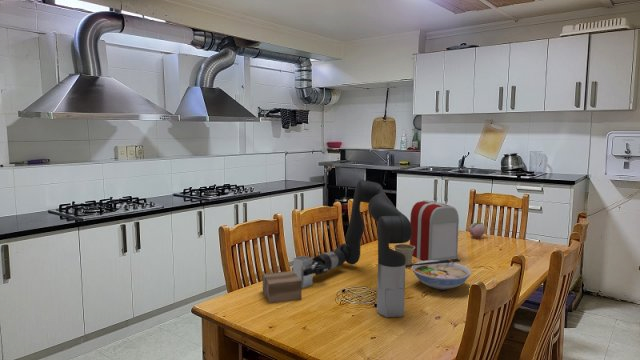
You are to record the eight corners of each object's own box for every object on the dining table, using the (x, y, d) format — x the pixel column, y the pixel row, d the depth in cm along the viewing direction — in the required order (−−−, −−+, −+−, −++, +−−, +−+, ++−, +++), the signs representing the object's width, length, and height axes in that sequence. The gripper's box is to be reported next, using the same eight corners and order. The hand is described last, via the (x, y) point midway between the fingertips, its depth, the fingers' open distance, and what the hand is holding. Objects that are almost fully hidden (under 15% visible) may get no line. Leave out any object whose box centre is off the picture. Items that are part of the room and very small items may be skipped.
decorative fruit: (474, 235, 260) (474, 219, 259) (487, 238, 253) (487, 221, 252) (465, 238, 254) (466, 221, 253) (478, 240, 247) (479, 223, 246)
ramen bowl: (426, 300, 161) (426, 278, 160) (398, 279, 183) (399, 260, 182) (485, 294, 168) (486, 273, 167) (452, 274, 189) (452, 256, 189)
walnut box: (301, 299, 161) (301, 280, 161) (269, 303, 158) (269, 284, 157) (293, 288, 173) (293, 270, 172) (262, 291, 169) (262, 273, 168)
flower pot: (414, 268, 197) (415, 250, 196) (393, 267, 199) (393, 248, 198) (414, 262, 207) (414, 244, 206) (394, 261, 208) (394, 243, 208)
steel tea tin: (312, 284, 177) (312, 257, 175) (303, 288, 173) (303, 261, 171) (302, 281, 180) (302, 255, 179) (293, 285, 176) (293, 258, 175)
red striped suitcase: (435, 251, 227) (437, 199, 223) (458, 260, 210) (460, 204, 207) (408, 254, 221) (409, 200, 217) (428, 264, 204) (430, 206, 201)
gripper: (312, 250, 191) (285, 259, 178) (339, 256, 182) (312, 266, 169) (312, 267, 192) (285, 277, 179) (338, 274, 182) (312, 285, 169)
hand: (298, 271), depth 174 cm, fingers closed on steel tea tin, 5 cm apart
